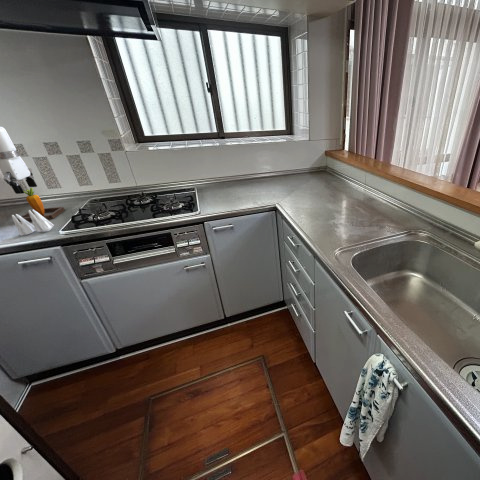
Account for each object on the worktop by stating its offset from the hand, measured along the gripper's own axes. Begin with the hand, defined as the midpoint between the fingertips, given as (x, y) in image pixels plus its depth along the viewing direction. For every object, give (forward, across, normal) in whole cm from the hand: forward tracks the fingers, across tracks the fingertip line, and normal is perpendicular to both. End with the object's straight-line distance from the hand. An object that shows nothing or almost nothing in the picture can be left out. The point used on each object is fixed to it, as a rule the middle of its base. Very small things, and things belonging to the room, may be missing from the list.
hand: (27, 190), depth 133 cm
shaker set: (+14, +21, +10) cm, 27 cm away
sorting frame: (+14, 0, +1) cm, 14 cm away
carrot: (+14, 0, +1) cm, 14 cm away
